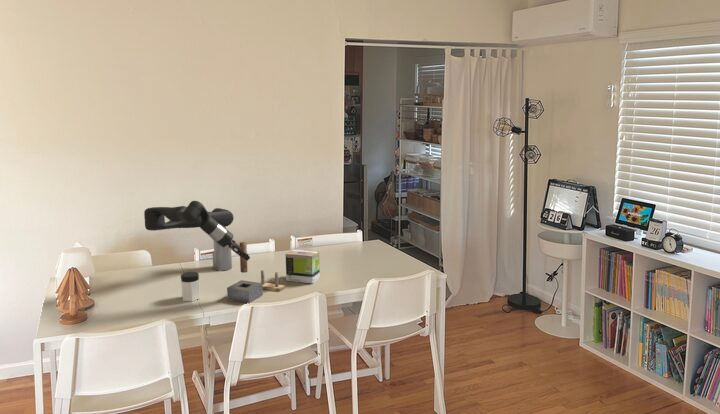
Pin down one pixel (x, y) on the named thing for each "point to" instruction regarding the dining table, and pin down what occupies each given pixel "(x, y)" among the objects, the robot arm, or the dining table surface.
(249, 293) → the block
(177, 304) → the dining table surface
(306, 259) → the tea box
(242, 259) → the walnut pin
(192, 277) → the jar
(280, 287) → the peg rack
